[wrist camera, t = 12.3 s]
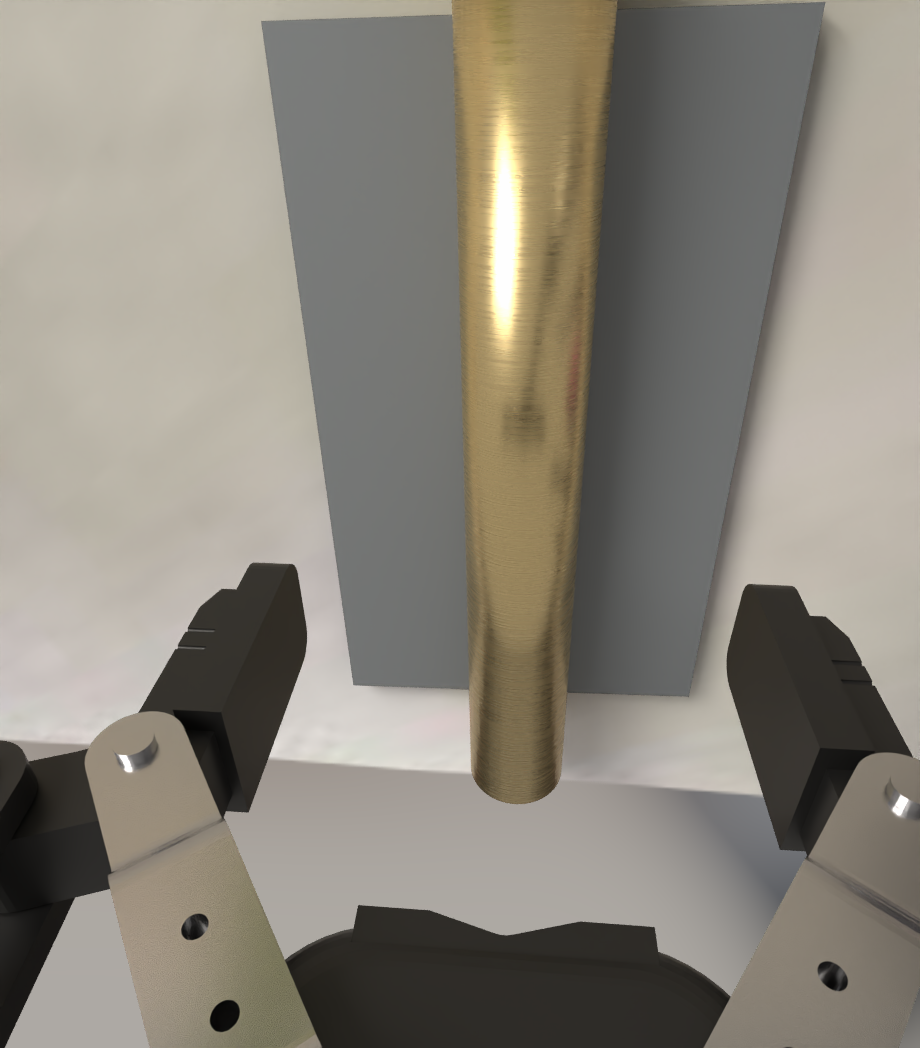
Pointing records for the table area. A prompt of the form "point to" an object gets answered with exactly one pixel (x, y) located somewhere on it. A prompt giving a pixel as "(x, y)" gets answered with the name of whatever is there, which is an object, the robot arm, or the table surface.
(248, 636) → the robot arm
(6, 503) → the table surface
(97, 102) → the table surface
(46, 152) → the table surface
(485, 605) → the rail
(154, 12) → the table surface
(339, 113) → the mat
